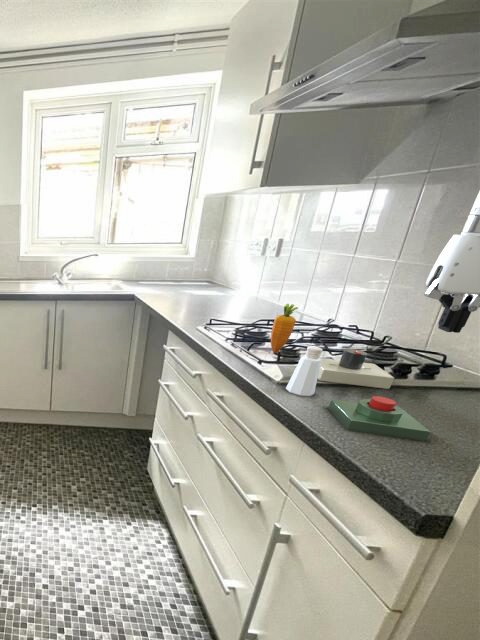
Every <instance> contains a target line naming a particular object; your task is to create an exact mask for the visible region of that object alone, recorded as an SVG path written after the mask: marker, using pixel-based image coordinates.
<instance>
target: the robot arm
mask: <svg viewBox="0 0 480 640" xmlns="http://www.w3.org/2000/svg"><path fill="white" fill-rule="evenodd" d="M425 286H426V287H427V289H426V291H425V292H424V296H425V297H426V298H429V299H433V300H437V301H439V303H440V304H441V307H442V308H443V309H444V310H443V311H442V312H441V313H442V314H441V316H440V318H439V320H438V323H437V324H438V325H437V327H438V329H439V330H441V331H444V332H446V333H457V334H459V333H460V332H461V331H462V330H463V328H464V327H466V324H467V322H468V321H469V317H470V316H471V314H472V313H474V312H476V311H477V310H479V308H480V190H479V191H478V193H477V196H476V198H475V200H474V202H473V205H472V207H471V210H470V212H469V214H468V216H467V218H466V221H465V223H464V225H463V228H462V230H461V232H460V233H457V234H453V235H452V236H451V238H450V239H449V240H448V242H447V243H446V244H445V246H444V248H443V249H442V251H441V253H440V254H439V255H438V256H437V259H436V261H435V263H434V265H433V266H432V268H431V270H430V272H429V275H428V276H427V279H426V281H425Z"/></svg>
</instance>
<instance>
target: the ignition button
mask: <svg viewBox="0 0 480 640" xmlns="http://www.w3.org/2000/svg"><path fill="white" fill-rule="evenodd" d="M370 399H371V400H370V402H369V406H371V407H373V408H376V409H380V410H384V411H393V409H394V407H395V406H397V402H396V401H395V400H393V399H391V398H388V397H384V396H378V395H375V396H371V398H370Z"/></svg>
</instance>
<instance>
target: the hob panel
mask: <svg viewBox="0 0 480 640" xmlns="http://www.w3.org/2000/svg"><path fill="white" fill-rule="evenodd" d="M319 359H321V360H322V361H321V366H320V370H319V374H318V379H317V380H318V381H321V382H328V383H336V384H345V385H353V386H360V387H370V388H377V389H385V390H390V388H391V386H392V384H393V382H394V380H395V377H394V376H392V375H391V374H390V373H388V372H387V371H386V370H384V369H382V368H381V367H379V366H378V365H377V364H375V363H370V362H364V363H363V365H362V368H361V369H359V370H355V369H348V368H344V367H342V366H340V365H339V362H340V359H333V358H325V357H324V358H323V357H319Z"/></svg>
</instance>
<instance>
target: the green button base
mask: <svg viewBox="0 0 480 640" xmlns="http://www.w3.org/2000/svg"><path fill="white" fill-rule="evenodd" d="M370 400H371V398H364V399H360V400H359V401H358V402H354V401H346V400H339V399H330V402H329V405H328V407H327V409H328V411H330V413H332V414H333V416H334V417H335V418H336V419H337V420H338V421H339V423H341V424H342V426H344V428H345V429H346V430H348V431H353V432H361V433H367V434H374V435H380V436H387V437H394V438H401V439H407V440H414V441H420V442H427V439H428V437H429V435H430V433H431V431H430V430H429V429H428V428H427V427H425V426H424V425H423V424H422V423H420V422H419V421H418V420H417V419H416V418H414V417H413V416H412V415H410V414H409V413H408V412H407V411H405V410H404V409H403V408H401V407H400V406H397V405H395V407H394V409H393V411H384V410H380V409H376V408H373V407H371V406H369V402H370Z"/></svg>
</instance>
